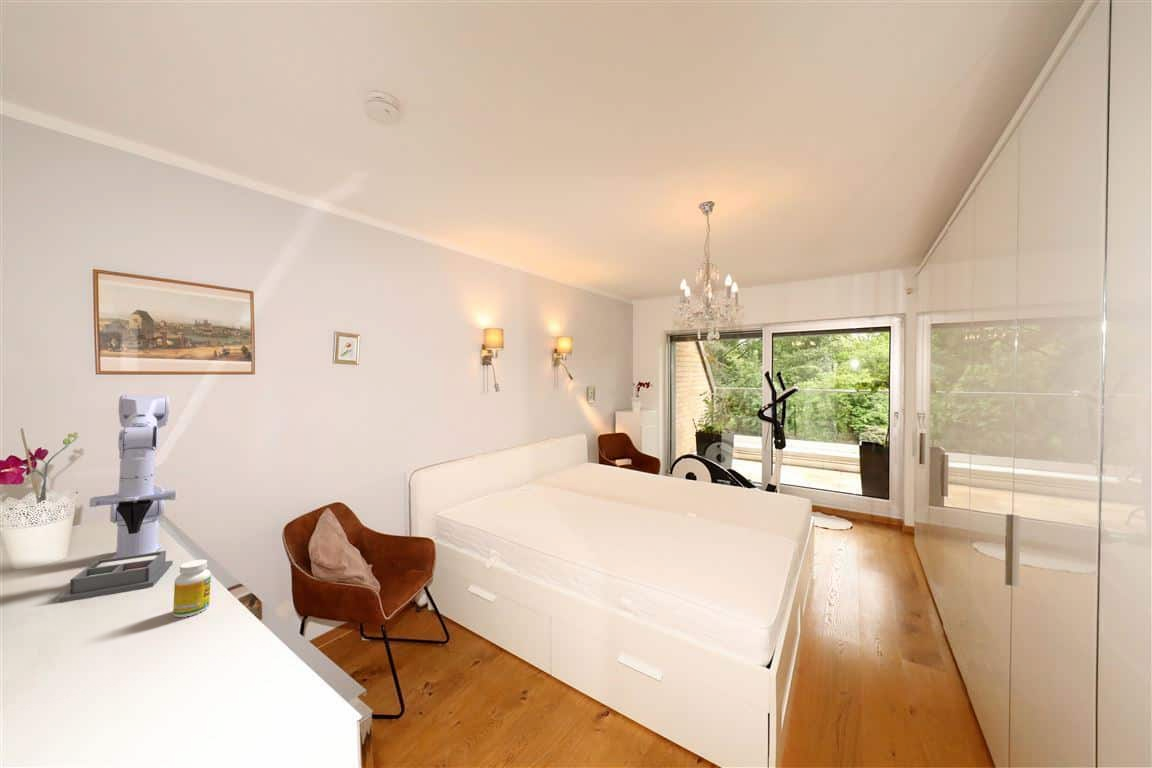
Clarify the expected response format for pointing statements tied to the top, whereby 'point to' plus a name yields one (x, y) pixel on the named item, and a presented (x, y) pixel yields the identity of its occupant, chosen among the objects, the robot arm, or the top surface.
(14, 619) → the top surface
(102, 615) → the top surface
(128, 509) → the robot arm
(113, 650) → the top surface
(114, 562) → the space bar
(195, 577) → the supplement bottle
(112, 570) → the grey compartment tray
